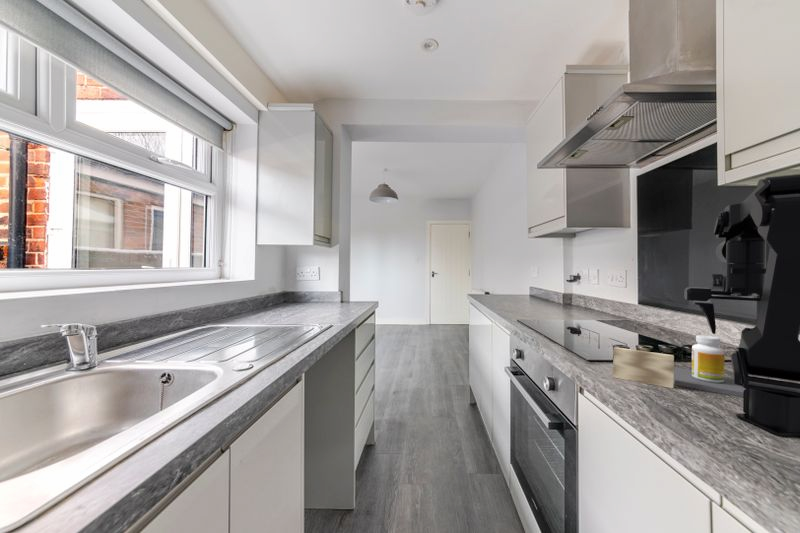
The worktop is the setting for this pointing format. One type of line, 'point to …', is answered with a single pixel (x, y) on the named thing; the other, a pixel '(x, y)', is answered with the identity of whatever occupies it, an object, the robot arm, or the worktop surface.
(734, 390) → the charcoal mat
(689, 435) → the worktop surface
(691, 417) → the worktop surface
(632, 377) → the birch screen
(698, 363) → the supplement bottle
